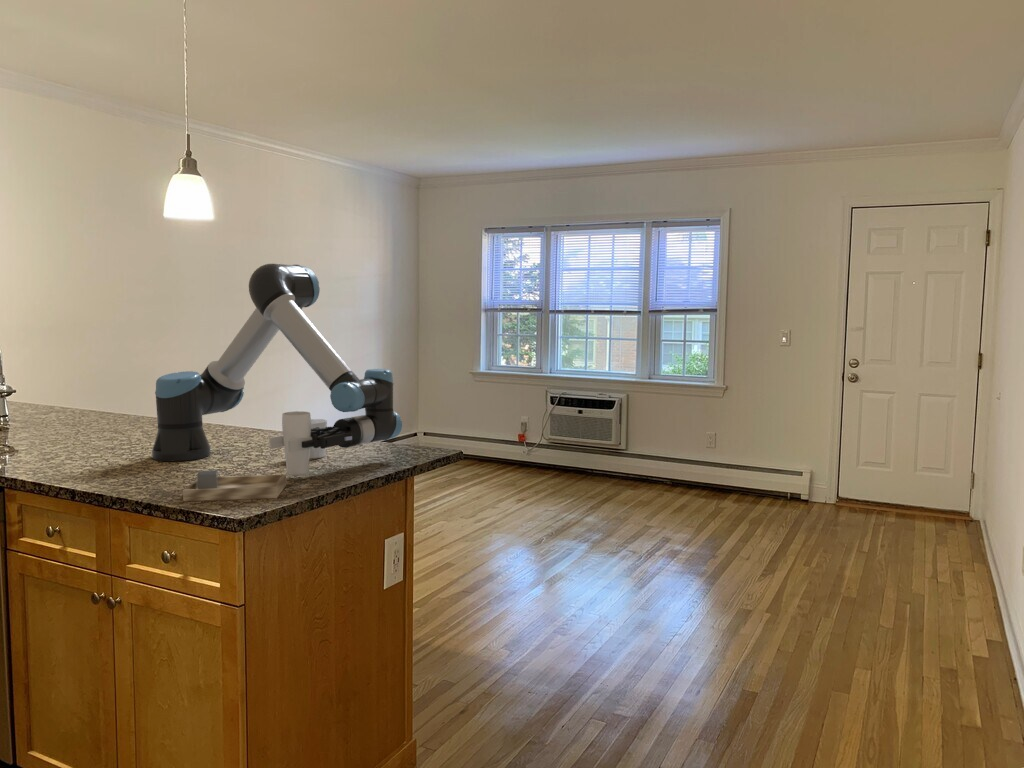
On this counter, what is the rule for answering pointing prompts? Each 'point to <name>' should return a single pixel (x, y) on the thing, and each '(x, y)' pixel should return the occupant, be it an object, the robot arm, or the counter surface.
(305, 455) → the drinking glass
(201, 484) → the cube
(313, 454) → the white cup
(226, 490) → the tray
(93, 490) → the counter surface
